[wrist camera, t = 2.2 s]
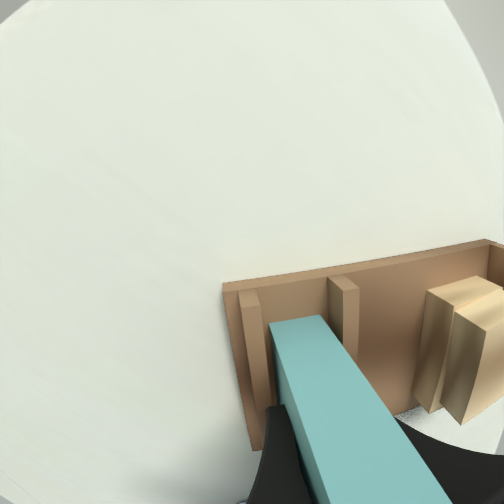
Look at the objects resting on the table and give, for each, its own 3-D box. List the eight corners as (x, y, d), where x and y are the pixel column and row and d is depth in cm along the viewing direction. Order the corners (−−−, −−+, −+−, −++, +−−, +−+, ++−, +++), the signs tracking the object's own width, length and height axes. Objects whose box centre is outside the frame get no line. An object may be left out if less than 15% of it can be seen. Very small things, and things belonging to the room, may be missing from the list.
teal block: (320, 420, 13) (384, 575, 4) (279, 429, 12) (324, 594, 4) (319, 314, 11) (457, 511, 2) (268, 323, 11) (350, 560, 2)
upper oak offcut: (482, 376, 11) (504, 394, 9) (439, 402, 11) (460, 425, 9) (499, 288, 10) (529, 303, 8) (454, 311, 10) (486, 331, 8)
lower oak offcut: (457, 371, 13) (477, 388, 11) (410, 392, 13) (428, 413, 11) (476, 275, 12) (503, 287, 10) (426, 289, 11) (454, 306, 10)
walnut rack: (461, 373, 15) (484, 393, 12) (250, 438, 14) (255, 474, 11) (484, 238, 12) (517, 248, 10) (222, 283, 12) (223, 310, 9)
